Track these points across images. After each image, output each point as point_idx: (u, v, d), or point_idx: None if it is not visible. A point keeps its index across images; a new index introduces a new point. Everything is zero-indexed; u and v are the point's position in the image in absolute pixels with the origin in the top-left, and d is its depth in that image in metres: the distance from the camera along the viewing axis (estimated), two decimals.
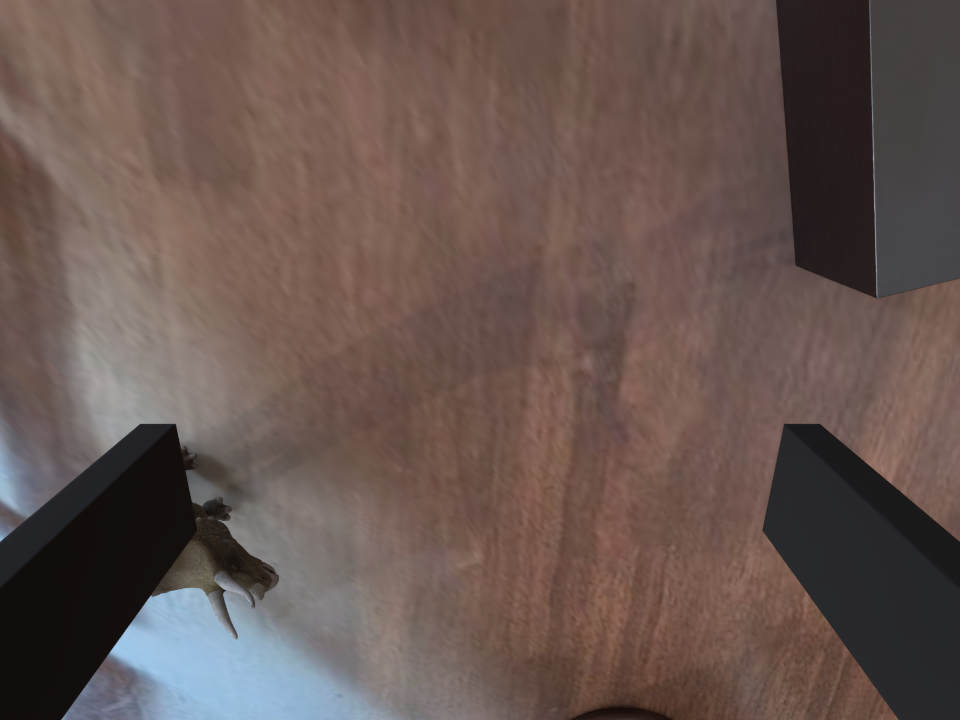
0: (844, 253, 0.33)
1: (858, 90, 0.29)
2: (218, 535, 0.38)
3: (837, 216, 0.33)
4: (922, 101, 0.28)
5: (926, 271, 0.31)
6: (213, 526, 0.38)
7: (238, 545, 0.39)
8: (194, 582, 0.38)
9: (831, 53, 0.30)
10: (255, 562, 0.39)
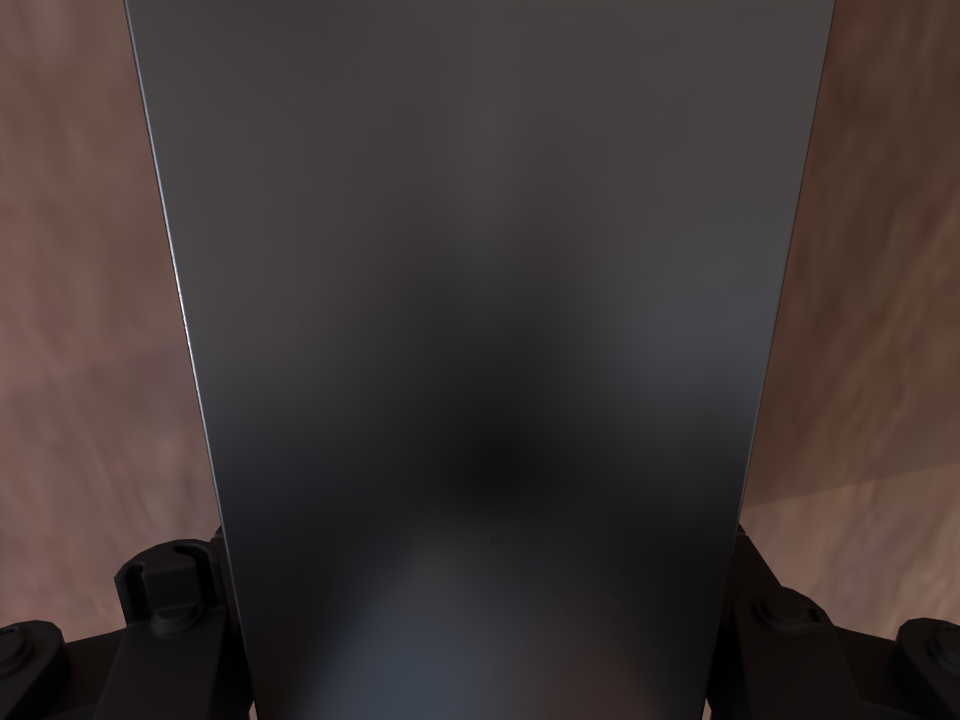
0: None
1: None
2: None
3: None
4: (444, 307, 0.05)
5: None
6: None
7: None
8: None
9: None
10: None
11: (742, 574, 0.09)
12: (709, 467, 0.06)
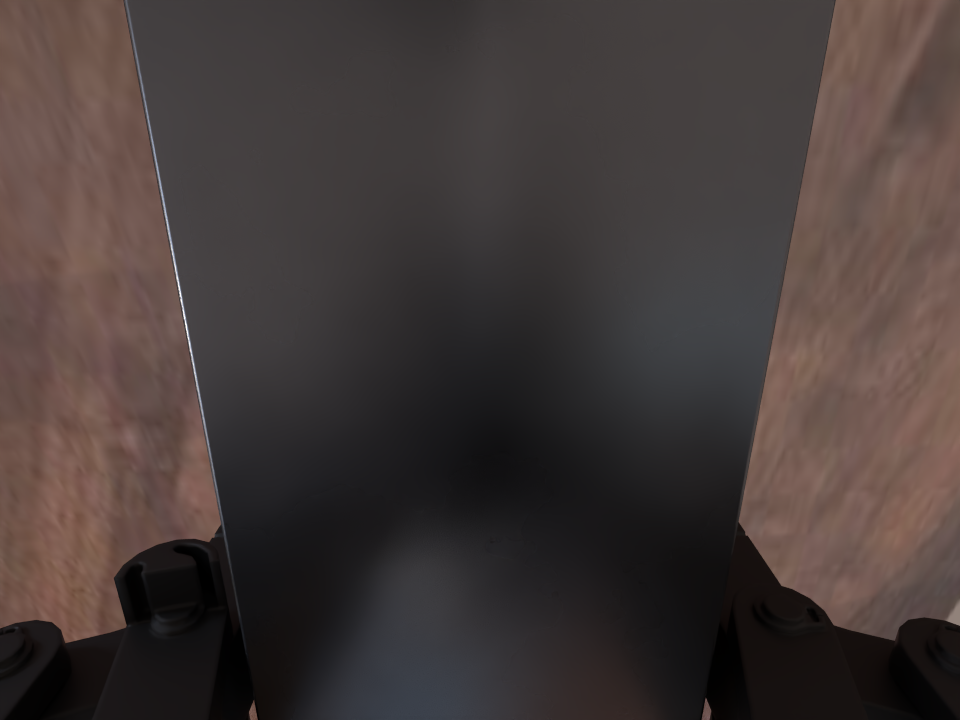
0: None
1: None
2: None
3: None
4: (444, 305, 0.05)
5: None
6: None
7: None
8: None
9: None
10: None
11: (742, 574, 0.09)
12: (709, 465, 0.06)
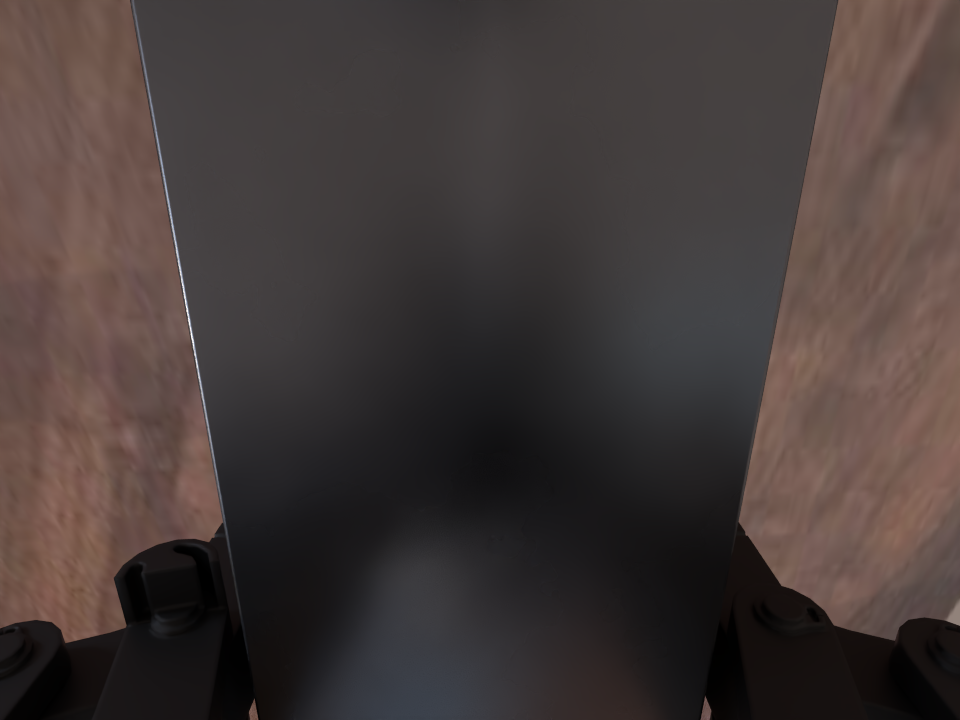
0: None
1: None
2: None
3: None
4: (446, 303, 0.05)
5: None
6: None
7: None
8: None
9: None
10: None
11: (742, 574, 0.09)
12: (709, 465, 0.06)
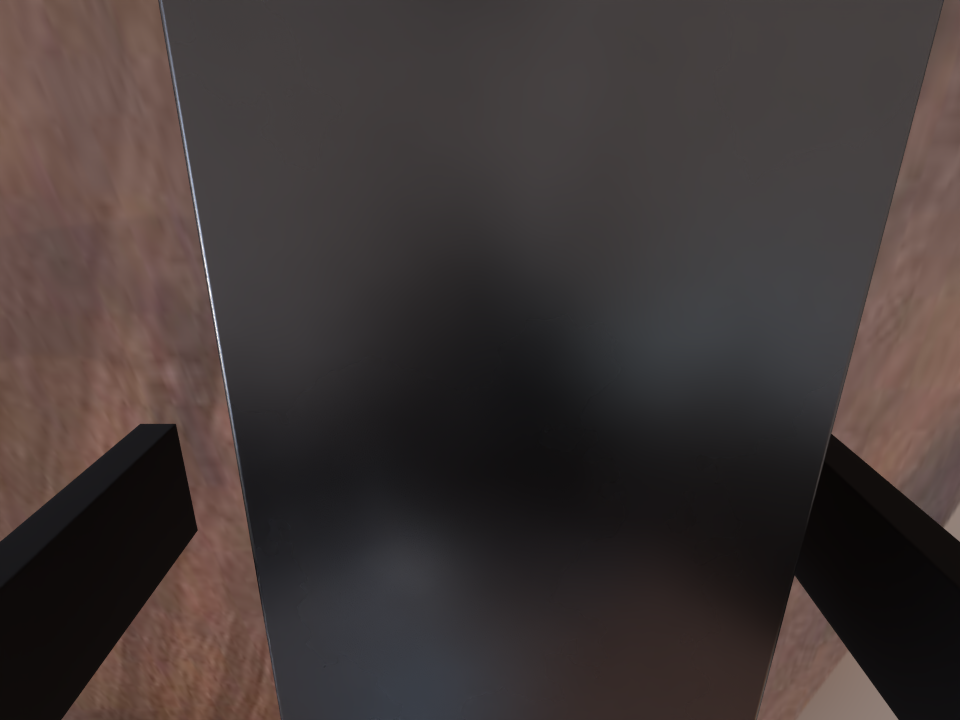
0: None
1: None
2: None
3: None
4: (502, 118, 0.04)
5: None
6: None
7: None
8: None
9: None
10: None
11: None
12: (810, 334, 0.05)
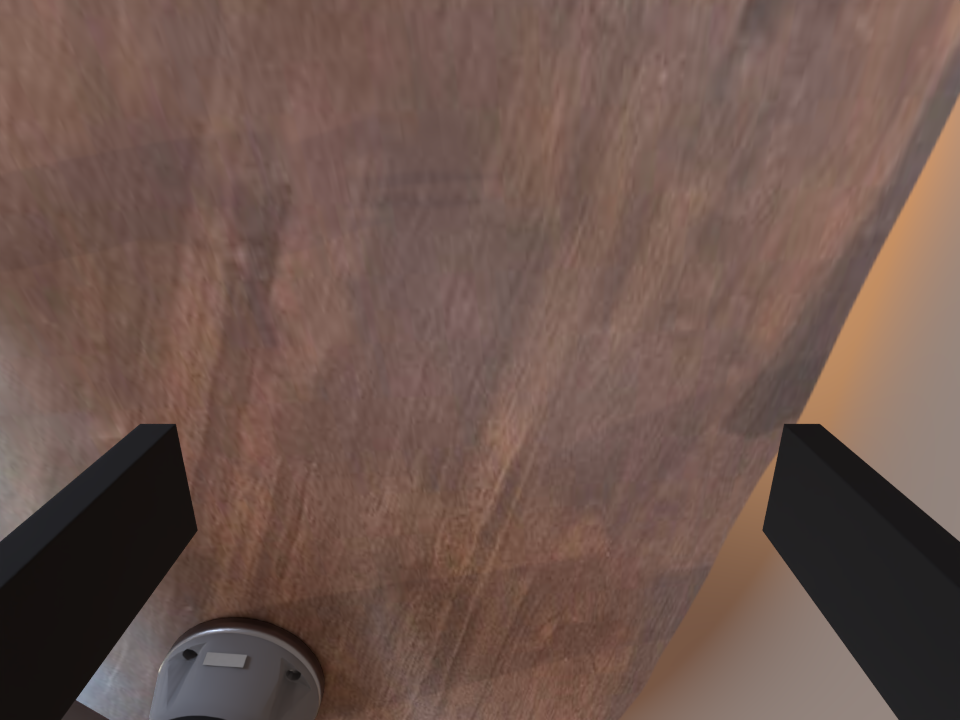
0: None
1: None
2: None
3: None
4: None
5: None
6: None
7: None
8: None
9: None
10: None
11: None
12: None
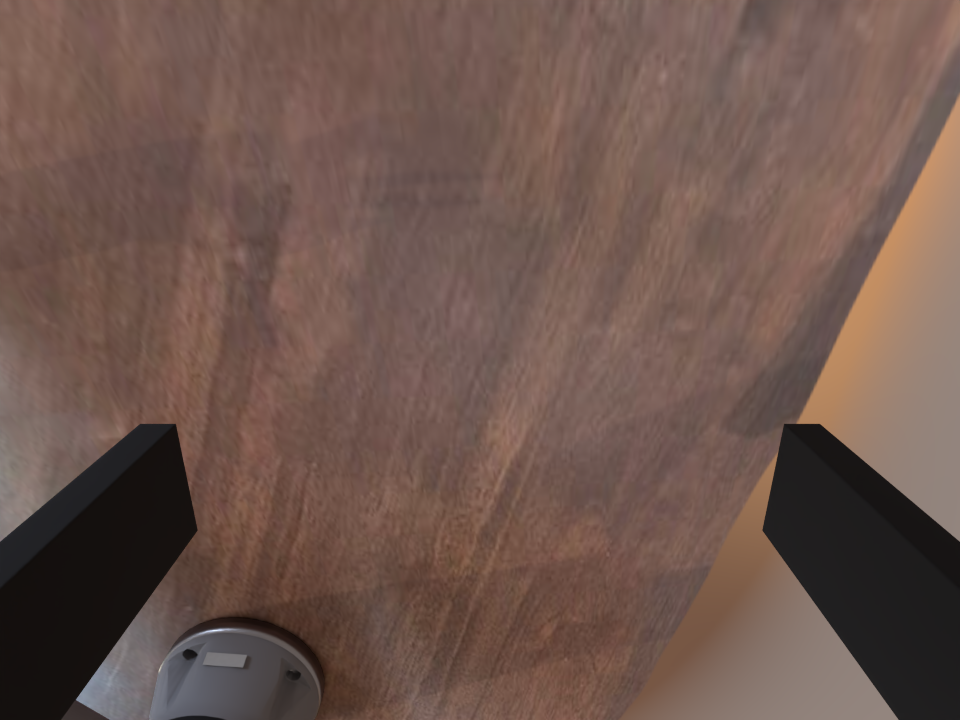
0: None
1: None
2: None
3: None
4: None
5: None
6: None
7: None
8: None
9: None
10: None
11: None
12: None
